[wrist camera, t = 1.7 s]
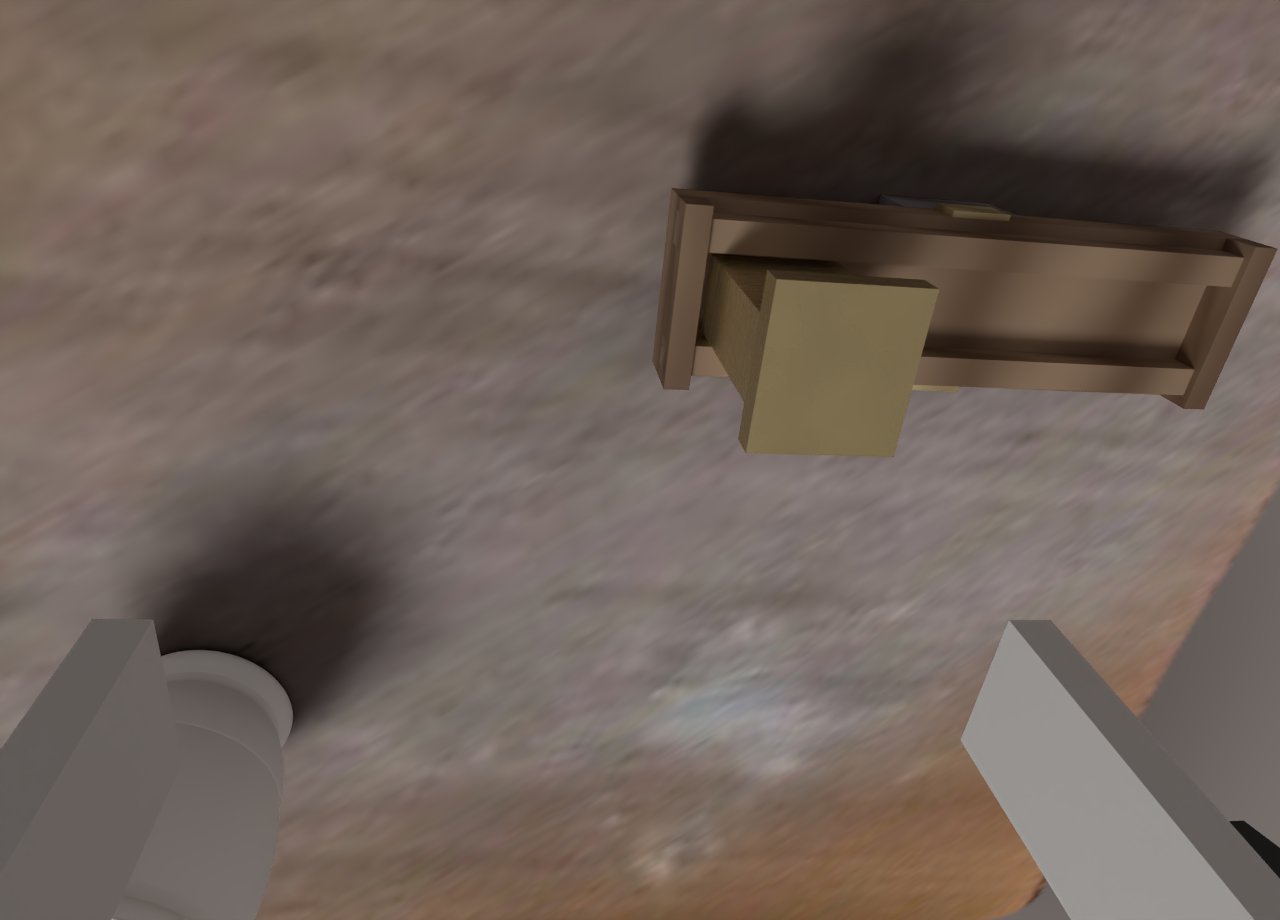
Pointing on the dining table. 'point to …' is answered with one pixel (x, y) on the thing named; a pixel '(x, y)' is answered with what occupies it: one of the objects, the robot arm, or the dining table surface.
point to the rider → (816, 352)
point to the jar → (215, 794)
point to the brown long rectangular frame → (988, 289)
